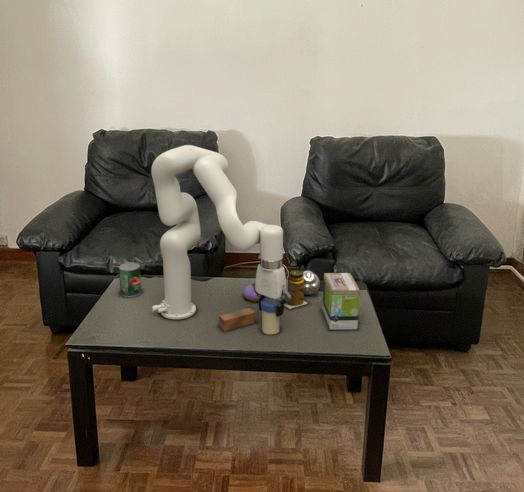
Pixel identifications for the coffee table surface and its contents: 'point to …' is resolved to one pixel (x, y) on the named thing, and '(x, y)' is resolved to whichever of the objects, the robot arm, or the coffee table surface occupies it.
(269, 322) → the jar
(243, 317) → the block
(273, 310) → the lid
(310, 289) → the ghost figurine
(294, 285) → the condiment
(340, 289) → the tea box
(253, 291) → the donut
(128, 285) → the canned tomato
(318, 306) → the coffee table surface
